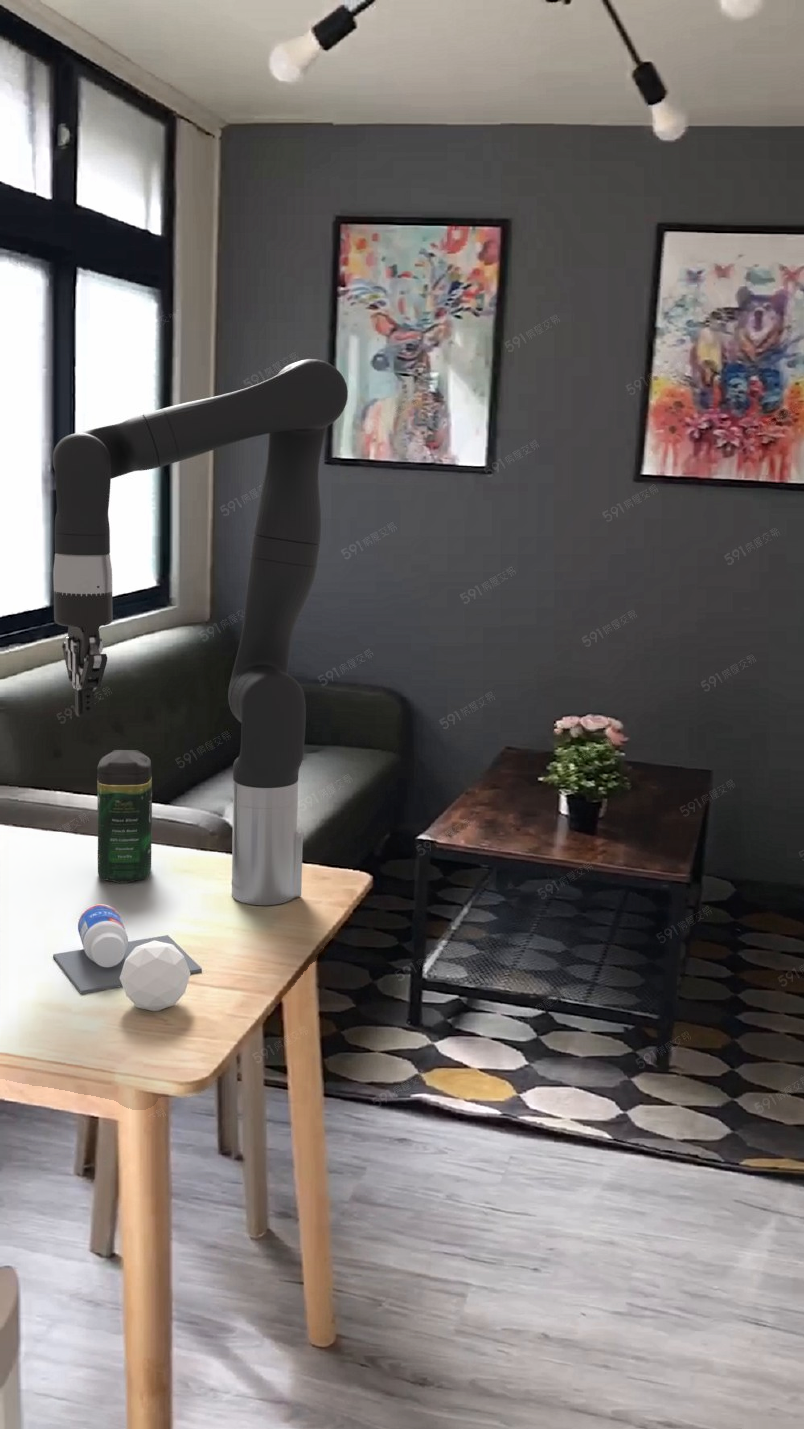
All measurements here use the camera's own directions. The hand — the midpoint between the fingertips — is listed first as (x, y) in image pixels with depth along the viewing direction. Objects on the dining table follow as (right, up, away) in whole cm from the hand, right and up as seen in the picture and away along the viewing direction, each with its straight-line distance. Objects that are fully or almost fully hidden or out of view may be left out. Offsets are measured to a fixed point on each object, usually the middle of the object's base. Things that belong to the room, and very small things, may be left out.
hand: (85, 716), depth 169 cm
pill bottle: (+4, -26, -8) cm, 28 cm away
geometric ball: (+14, -34, -24) cm, 44 cm away
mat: (+9, -31, -13) cm, 35 cm away
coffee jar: (+1, -24, +19) cm, 31 cm away
